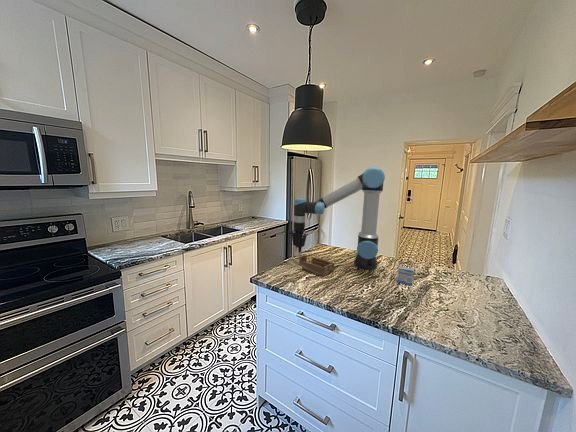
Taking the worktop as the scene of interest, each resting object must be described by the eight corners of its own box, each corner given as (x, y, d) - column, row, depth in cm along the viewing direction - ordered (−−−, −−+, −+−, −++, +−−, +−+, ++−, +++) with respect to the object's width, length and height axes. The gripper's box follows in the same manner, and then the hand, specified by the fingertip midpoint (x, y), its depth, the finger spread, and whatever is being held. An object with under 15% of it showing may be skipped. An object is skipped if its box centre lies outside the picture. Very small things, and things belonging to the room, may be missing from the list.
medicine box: (396, 282, 139) (398, 268, 138) (397, 279, 143) (398, 265, 142) (412, 285, 136) (413, 270, 134) (412, 282, 140) (413, 268, 138)
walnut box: (313, 265, 164) (313, 257, 163) (333, 271, 154) (334, 263, 153) (302, 270, 155) (302, 261, 154) (323, 277, 145) (323, 268, 144)
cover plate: (295, 260, 174) (295, 250, 173) (309, 265, 165) (309, 255, 164) (286, 263, 168) (286, 253, 167) (299, 268, 159) (300, 258, 158)
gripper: (288, 221, 161) (287, 255, 165) (303, 224, 153) (302, 260, 157) (295, 219, 167) (294, 252, 171) (310, 222, 158) (309, 257, 162)
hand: (298, 256), depth 164 cm, fingers closed
